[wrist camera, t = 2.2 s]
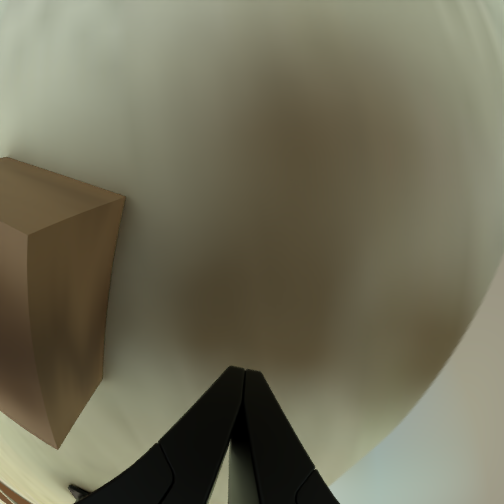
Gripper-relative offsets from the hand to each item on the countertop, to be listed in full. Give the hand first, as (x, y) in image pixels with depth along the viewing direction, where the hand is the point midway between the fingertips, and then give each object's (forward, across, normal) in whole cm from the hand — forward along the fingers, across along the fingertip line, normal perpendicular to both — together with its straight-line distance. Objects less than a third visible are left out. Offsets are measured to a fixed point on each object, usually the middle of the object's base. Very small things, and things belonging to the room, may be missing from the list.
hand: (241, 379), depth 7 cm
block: (+2, +8, 0) cm, 8 cm away
